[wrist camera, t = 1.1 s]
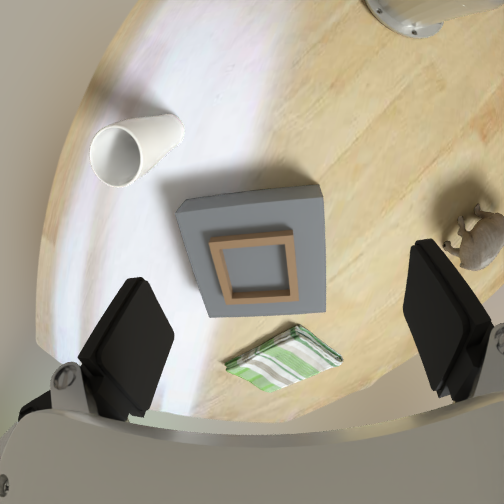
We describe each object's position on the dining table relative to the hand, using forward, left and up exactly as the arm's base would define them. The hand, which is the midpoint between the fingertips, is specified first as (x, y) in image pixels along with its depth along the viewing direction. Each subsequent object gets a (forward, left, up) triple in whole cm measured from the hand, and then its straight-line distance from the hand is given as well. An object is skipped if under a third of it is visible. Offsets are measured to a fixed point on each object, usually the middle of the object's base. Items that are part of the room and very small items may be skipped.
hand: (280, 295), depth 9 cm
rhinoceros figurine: (+16, +34, -32) cm, 49 cm away
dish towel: (+48, -5, -32) cm, 58 cm away
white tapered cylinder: (-4, -16, -32) cm, 36 cm away
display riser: (+17, -6, -31) cm, 36 cm away
